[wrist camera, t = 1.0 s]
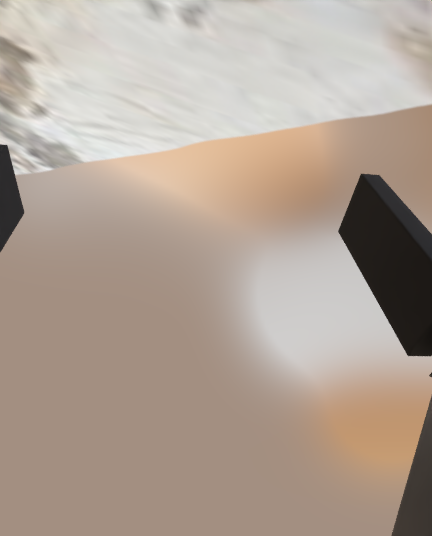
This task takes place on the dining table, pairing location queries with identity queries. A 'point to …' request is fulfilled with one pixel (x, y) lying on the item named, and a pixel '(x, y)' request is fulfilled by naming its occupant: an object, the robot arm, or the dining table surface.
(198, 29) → the dining table surface
